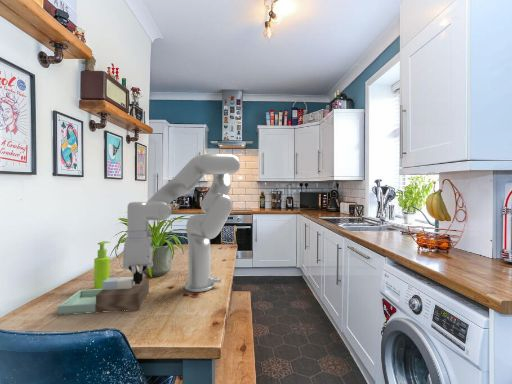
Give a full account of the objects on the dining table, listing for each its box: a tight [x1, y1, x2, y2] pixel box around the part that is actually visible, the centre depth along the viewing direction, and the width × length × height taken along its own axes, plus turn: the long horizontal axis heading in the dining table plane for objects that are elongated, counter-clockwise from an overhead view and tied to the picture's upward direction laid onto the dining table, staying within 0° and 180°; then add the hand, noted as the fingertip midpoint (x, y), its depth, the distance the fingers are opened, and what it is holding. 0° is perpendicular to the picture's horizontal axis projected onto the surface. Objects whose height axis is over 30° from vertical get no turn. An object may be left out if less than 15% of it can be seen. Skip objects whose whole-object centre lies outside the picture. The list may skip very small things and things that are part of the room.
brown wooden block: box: [96, 278, 150, 313], centre depth 107 cm, size 14×16×6 cm
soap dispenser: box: [93, 240, 111, 289], centre depth 123 cm, size 6×7×20 cm
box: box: [57, 288, 102, 316], centre depth 105 cm, size 12×16×3 cm
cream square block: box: [117, 276, 135, 289], centre depth 107 cm, size 5×5×3 cm
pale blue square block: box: [102, 277, 121, 290], centre depth 106 cm, size 5×5×3 cm
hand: (138, 283), depth 107 cm, fingers closed
